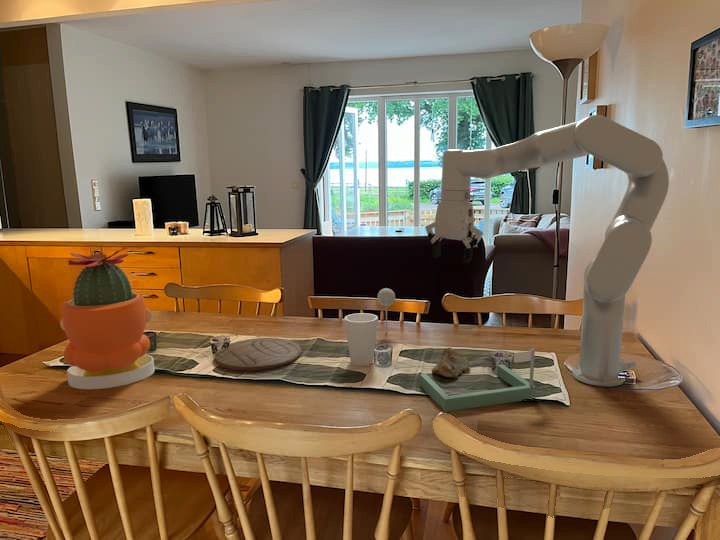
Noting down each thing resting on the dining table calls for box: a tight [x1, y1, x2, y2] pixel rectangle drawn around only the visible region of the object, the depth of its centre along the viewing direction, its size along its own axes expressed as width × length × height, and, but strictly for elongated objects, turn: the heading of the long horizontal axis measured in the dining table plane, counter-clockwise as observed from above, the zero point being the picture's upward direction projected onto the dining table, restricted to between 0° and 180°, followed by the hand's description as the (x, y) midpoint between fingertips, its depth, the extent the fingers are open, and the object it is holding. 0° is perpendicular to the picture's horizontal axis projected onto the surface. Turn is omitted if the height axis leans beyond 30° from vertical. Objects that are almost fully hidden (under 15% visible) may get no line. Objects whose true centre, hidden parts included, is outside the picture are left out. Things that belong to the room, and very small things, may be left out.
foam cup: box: [343, 312, 379, 367], centre depth 154 cm, size 10×9×13 cm
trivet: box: [214, 337, 302, 373], centre depth 162 cm, size 25×25×2 cm
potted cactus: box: [59, 246, 155, 390], centre depth 143 cm, size 22×22×35 cm
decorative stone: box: [431, 347, 470, 379], centre depth 147 cm, size 10×4×15 cm
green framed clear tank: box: [419, 348, 537, 412], centre depth 132 cm, size 23×16×12 cm
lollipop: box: [376, 287, 396, 333], centre depth 180 cm, size 6×6×15 cm
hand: (451, 259), depth 149 cm, fingers open, 9 cm apart
